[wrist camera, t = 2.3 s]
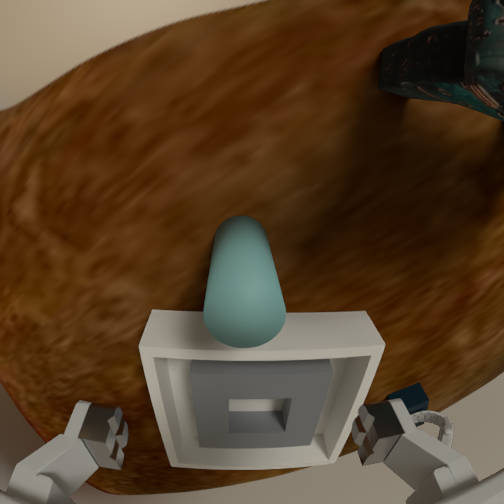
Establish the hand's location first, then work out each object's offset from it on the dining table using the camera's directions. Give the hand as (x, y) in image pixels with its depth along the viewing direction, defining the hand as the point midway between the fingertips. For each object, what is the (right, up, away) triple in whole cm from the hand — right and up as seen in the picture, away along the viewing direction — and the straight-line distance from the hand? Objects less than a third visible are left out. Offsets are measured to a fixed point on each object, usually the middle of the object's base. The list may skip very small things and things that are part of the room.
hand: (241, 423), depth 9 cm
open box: (+1, -8, +21) cm, 23 cm away
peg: (-1, +6, +15) cm, 16 cm away
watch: (+20, -13, +25) cm, 34 cm away
